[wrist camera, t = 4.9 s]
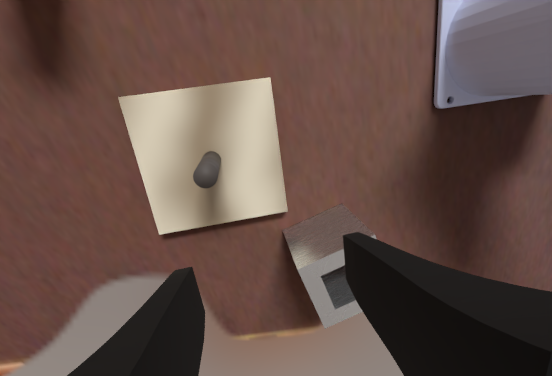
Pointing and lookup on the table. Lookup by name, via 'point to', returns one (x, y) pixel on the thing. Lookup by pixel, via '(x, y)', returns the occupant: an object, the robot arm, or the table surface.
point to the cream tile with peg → (207, 153)
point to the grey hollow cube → (326, 261)
